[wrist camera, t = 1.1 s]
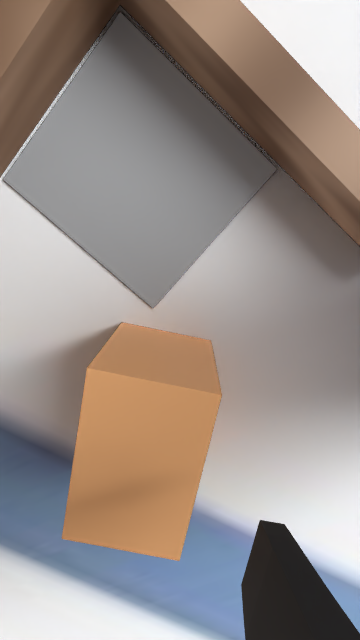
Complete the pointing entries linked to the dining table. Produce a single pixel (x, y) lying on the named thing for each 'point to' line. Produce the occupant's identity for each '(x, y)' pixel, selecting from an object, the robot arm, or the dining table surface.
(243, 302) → the dining table surface
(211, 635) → the dining table surface
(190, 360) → the block
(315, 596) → the robot arm
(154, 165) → the pad
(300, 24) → the dining table surface
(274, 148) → the arena
